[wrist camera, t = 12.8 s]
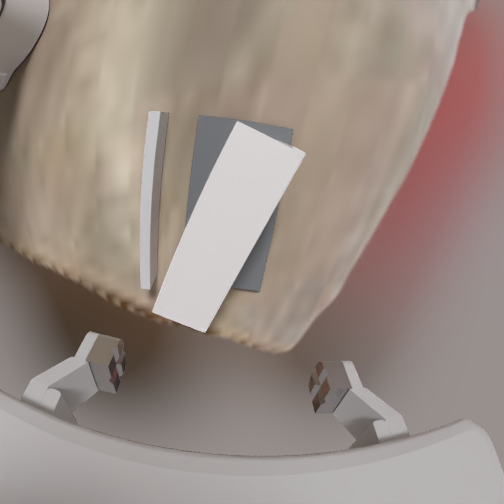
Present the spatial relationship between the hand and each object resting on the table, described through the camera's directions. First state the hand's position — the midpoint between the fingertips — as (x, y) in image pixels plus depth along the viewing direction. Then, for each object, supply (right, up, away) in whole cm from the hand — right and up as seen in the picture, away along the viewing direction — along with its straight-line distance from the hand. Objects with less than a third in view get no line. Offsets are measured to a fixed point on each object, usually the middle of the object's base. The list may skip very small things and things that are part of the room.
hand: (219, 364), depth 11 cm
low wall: (-10, +11, +20) cm, 25 cm away
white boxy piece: (-2, +9, +21) cm, 23 cm away
